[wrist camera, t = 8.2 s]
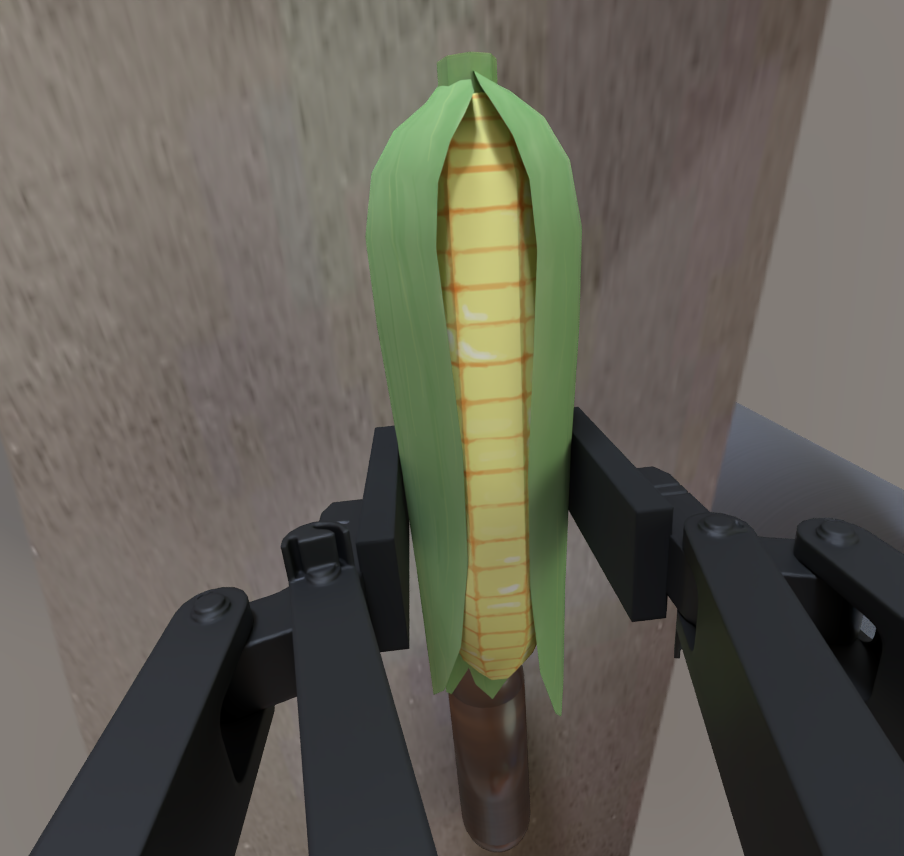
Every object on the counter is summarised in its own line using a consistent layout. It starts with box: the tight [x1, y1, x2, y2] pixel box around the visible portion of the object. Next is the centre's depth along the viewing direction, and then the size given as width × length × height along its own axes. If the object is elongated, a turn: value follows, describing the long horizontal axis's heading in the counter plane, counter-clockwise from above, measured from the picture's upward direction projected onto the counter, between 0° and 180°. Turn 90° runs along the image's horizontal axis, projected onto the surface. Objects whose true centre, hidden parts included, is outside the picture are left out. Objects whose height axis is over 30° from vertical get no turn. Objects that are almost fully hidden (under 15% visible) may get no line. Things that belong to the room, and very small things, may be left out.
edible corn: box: [366, 52, 582, 716], centre depth 15 cm, size 5×20×5 cm, turn 4°
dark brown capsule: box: [448, 665, 530, 852], centre depth 30 cm, size 14×4×4 cm, turn 5°
